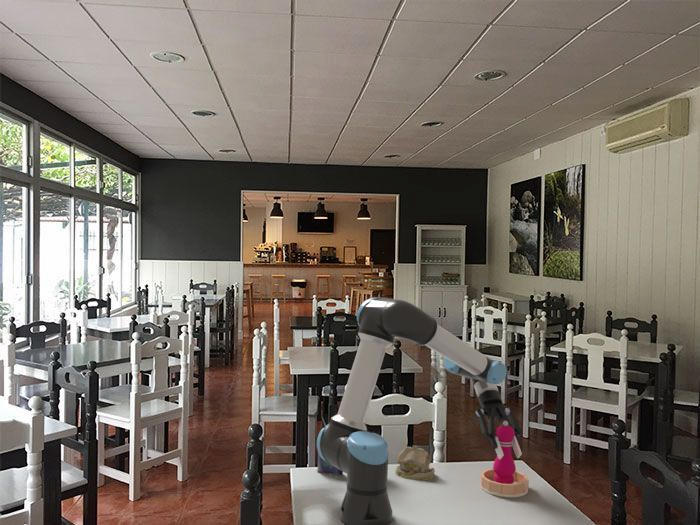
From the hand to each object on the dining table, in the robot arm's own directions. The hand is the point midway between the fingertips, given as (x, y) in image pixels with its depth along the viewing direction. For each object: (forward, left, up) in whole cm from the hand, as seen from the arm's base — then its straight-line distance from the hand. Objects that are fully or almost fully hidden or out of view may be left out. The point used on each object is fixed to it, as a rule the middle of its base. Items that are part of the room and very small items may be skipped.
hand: (510, 456), depth 195 cm
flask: (-56, -23, -12) cm, 61 cm away
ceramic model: (-33, -5, -12) cm, 35 cm away
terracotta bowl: (-3, +2, -12) cm, 12 cm away
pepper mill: (-3, +2, -10) cm, 10 cm away
